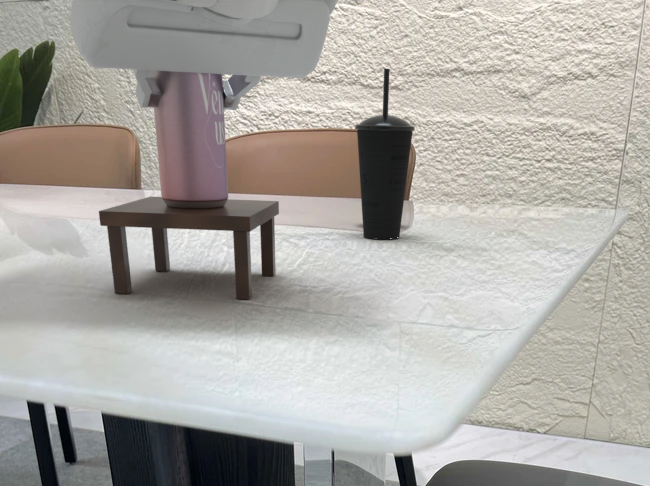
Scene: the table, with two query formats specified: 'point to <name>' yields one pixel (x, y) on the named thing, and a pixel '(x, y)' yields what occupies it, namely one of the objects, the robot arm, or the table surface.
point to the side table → (160, 217)
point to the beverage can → (191, 140)
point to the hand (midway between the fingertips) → (186, 103)
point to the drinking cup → (383, 169)
